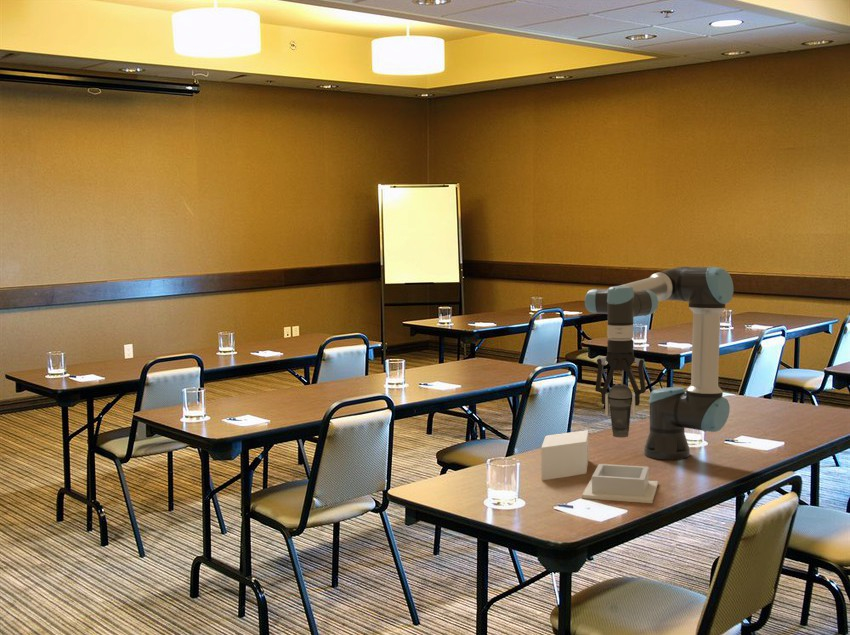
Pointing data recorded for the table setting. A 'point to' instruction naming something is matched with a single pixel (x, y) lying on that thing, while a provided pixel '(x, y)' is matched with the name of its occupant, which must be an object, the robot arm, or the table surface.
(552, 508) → the table surface
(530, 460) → the table surface
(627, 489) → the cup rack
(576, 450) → the block
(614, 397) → the beverage cup
